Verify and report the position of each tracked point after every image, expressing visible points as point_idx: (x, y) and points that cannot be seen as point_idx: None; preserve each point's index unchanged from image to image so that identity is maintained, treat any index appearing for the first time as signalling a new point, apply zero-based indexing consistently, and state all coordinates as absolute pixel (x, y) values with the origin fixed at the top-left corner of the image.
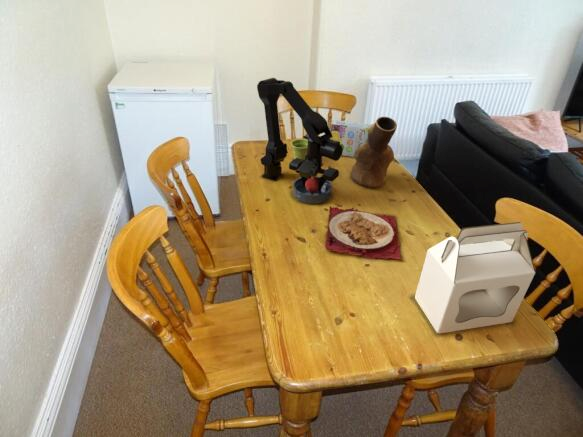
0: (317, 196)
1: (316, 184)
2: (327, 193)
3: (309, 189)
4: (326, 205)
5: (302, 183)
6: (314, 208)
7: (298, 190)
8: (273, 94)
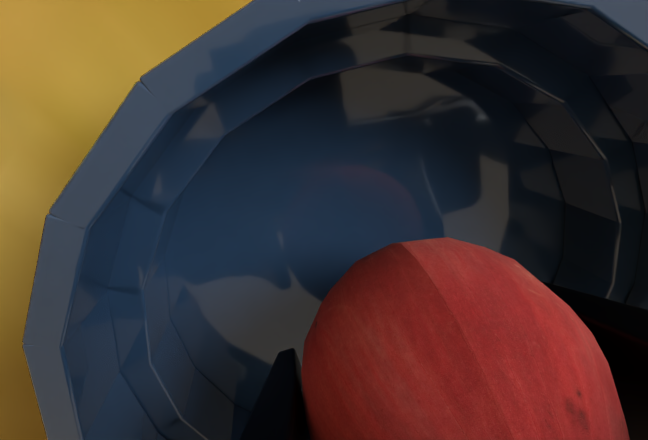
0: (74, 182)
1: (343, 438)
2: (53, 404)
3: (400, 252)
4: (41, 233)
5: None
6: (64, 22)
7: (544, 211)
8: None
